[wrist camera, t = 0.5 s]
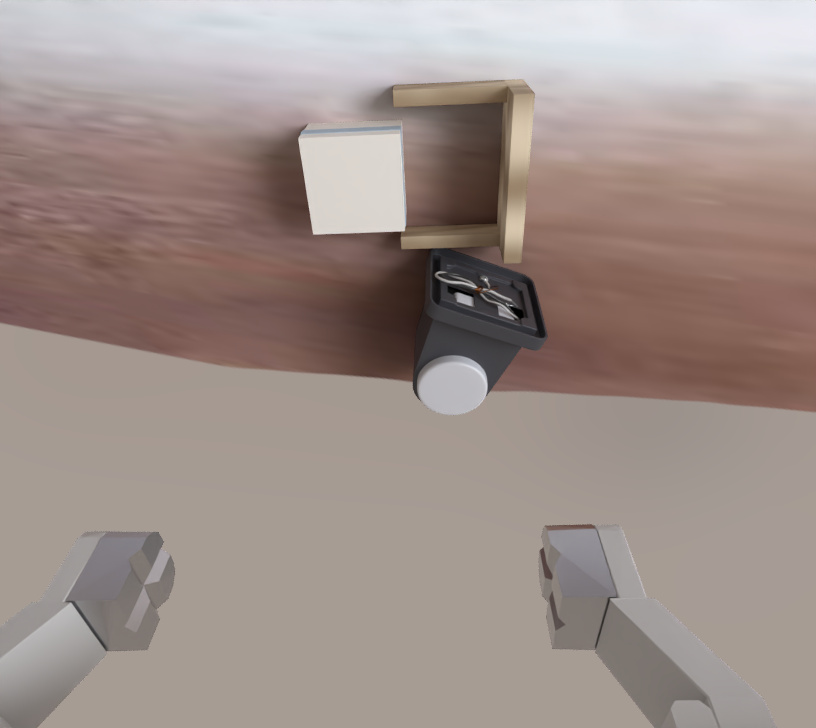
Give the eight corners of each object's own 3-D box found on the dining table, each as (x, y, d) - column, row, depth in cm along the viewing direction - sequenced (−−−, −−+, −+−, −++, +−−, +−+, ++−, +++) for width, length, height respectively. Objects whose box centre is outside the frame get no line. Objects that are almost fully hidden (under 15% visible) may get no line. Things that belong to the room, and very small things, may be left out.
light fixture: (391, 339, 61) (383, 407, 53) (433, 235, 53) (433, 296, 45) (482, 366, 63) (489, 436, 55) (536, 270, 55) (554, 335, 47)
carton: (308, 122, 48) (297, 137, 44) (402, 118, 47) (400, 133, 43) (321, 213, 52) (312, 235, 48) (407, 210, 52) (405, 231, 48)
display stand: (393, 85, 46) (390, 100, 41) (523, 79, 45) (534, 93, 40) (402, 238, 53) (399, 266, 49) (512, 235, 53) (521, 262, 48)
